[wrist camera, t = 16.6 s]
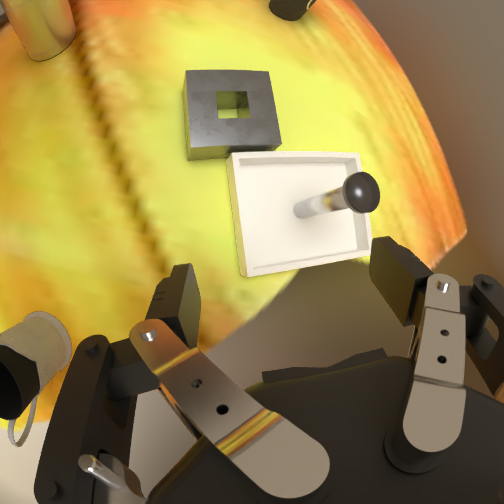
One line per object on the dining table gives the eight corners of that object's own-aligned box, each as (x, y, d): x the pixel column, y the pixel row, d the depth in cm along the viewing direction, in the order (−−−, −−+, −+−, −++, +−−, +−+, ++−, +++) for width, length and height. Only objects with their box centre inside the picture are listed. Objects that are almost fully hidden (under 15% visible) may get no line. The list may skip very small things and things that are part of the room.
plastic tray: (226, 161, 37) (231, 152, 33) (345, 159, 42) (358, 153, 38) (240, 274, 37) (247, 277, 34) (359, 254, 43) (373, 254, 39)
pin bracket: (182, 89, 35) (185, 70, 30) (257, 88, 38) (268, 71, 33) (187, 160, 35) (191, 147, 30) (268, 155, 38) (281, 143, 33)
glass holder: (72, 319, 31) (23, 358, 17) (74, 409, 30) (44, 472, 16) (20, 304, 29) (-42, 330, 14) (24, 393, 28) (-17, 444, 14)
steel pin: (285, 196, 38) (345, 171, 25) (311, 194, 39) (376, 171, 26) (289, 225, 38) (352, 214, 25) (315, 223, 40) (382, 211, 26)
